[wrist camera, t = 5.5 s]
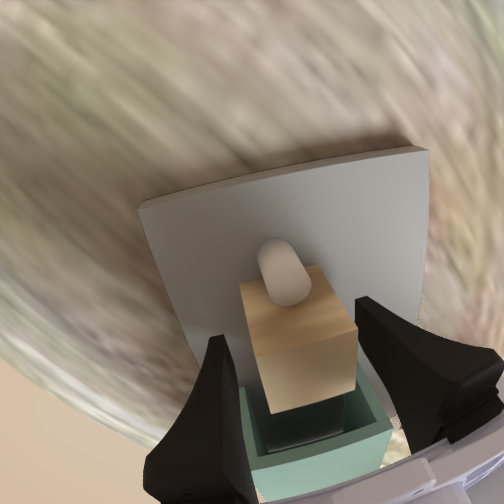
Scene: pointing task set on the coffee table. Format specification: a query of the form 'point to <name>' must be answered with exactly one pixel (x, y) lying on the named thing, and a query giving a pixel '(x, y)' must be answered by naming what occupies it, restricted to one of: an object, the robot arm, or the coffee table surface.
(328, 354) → the brown block
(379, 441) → the block
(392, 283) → the base
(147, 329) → the coffee table surface
